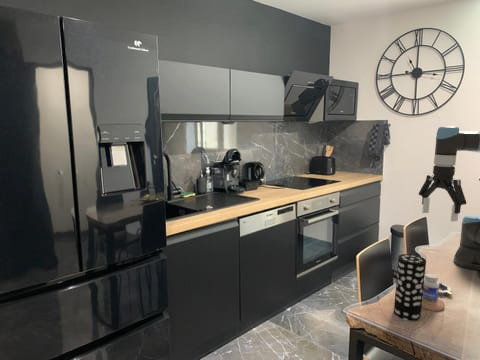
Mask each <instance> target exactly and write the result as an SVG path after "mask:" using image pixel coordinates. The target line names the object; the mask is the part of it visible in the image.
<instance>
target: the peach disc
mask: <svg viewBox="0 0 480 360" xmlns="http://www.w3.org/2000/svg"><path fill="white" fill-rule="evenodd" d="M445 306H446V305H445V302H444V301H443V300H441V299H440V298H438V301H437V304H434V305H430V304H426V303H424V302H422V309H423V310H425V311H430V312H441V311H443V310H445V308H446V307H445Z"/></svg>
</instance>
